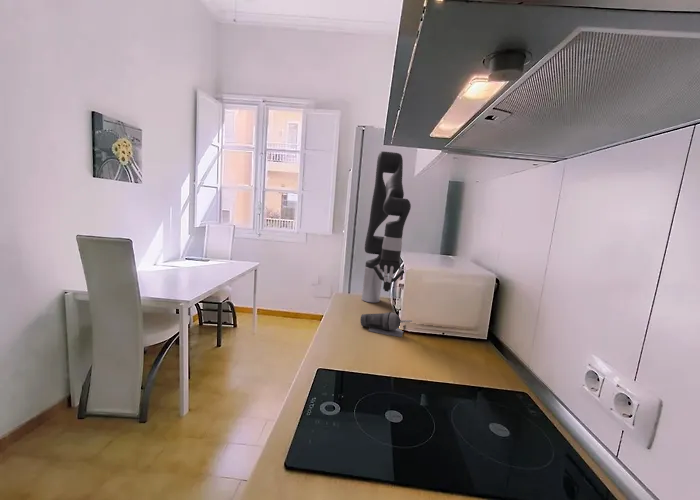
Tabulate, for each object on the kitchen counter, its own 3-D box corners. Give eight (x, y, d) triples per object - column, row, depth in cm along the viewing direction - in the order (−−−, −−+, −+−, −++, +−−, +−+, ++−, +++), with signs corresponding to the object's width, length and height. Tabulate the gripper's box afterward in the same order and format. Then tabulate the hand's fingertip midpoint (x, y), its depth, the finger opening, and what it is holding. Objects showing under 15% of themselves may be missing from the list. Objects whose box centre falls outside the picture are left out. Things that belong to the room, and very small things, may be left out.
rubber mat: (374, 319, 158) (375, 318, 158) (405, 324, 155) (405, 323, 155) (368, 331, 142) (368, 329, 142) (401, 337, 140) (402, 335, 140)
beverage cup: (358, 316, 144) (409, 318, 137) (363, 307, 150) (412, 309, 143) (360, 332, 146) (410, 335, 139) (365, 323, 152) (414, 326, 145)
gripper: (409, 249, 147) (403, 291, 150) (376, 245, 150) (371, 286, 152) (407, 251, 140) (402, 295, 142) (373, 247, 143) (368, 290, 145)
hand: (386, 290), depth 147 cm, fingers closed
